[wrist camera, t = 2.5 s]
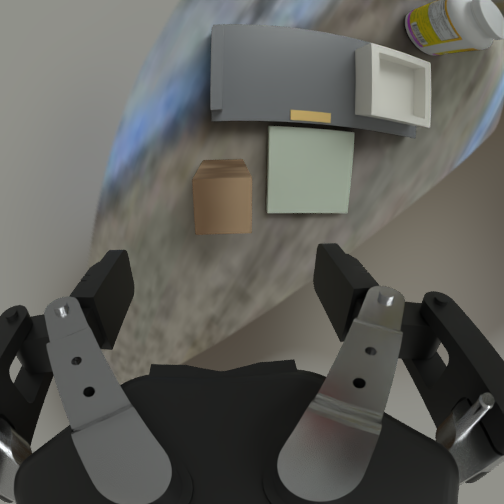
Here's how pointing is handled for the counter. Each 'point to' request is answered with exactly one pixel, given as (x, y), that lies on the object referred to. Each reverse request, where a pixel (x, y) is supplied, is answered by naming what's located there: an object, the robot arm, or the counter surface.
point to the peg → (222, 197)
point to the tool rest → (308, 170)
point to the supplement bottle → (454, 26)
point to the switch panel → (288, 78)
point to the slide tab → (392, 86)
